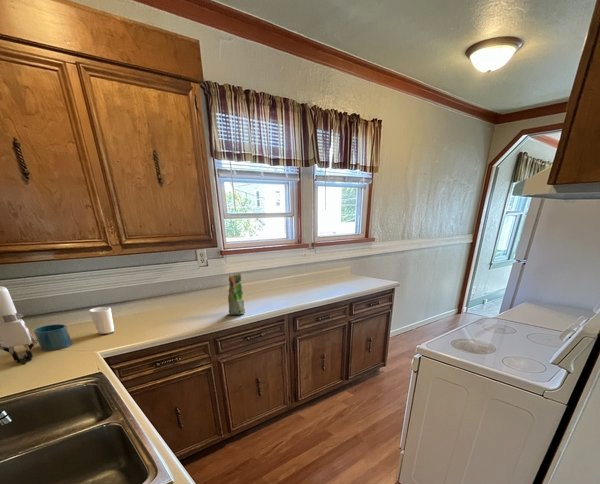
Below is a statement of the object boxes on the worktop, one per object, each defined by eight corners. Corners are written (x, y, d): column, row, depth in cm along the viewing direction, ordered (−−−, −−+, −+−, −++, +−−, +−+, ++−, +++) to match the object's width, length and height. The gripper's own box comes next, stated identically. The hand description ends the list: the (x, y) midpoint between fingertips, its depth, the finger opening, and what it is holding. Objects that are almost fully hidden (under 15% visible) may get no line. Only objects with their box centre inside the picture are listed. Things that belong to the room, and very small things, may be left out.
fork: (27, 363, 137) (25, 358, 136) (19, 365, 135) (17, 359, 134) (29, 356, 144) (27, 350, 143) (22, 357, 143) (20, 352, 142)
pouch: (243, 310, 214) (239, 271, 203) (248, 315, 205) (245, 273, 193) (226, 312, 210) (222, 272, 199) (231, 317, 200) (227, 275, 189)
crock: (40, 352, 148) (32, 333, 144) (41, 344, 157) (34, 326, 153) (72, 347, 154) (65, 329, 150) (71, 340, 163) (66, 322, 159)
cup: (91, 334, 171) (84, 310, 165) (107, 329, 179) (100, 306, 174) (105, 336, 168) (98, 312, 162) (121, 331, 176) (115, 307, 170)
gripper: (33, 313, 138) (48, 353, 146) (-18, 319, 130) (1, 361, 138) (31, 317, 132) (47, 359, 140) (-22, 323, 124) (-2, 367, 133)
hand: (24, 360), depth 139 cm, fingers open, 3 cm apart
